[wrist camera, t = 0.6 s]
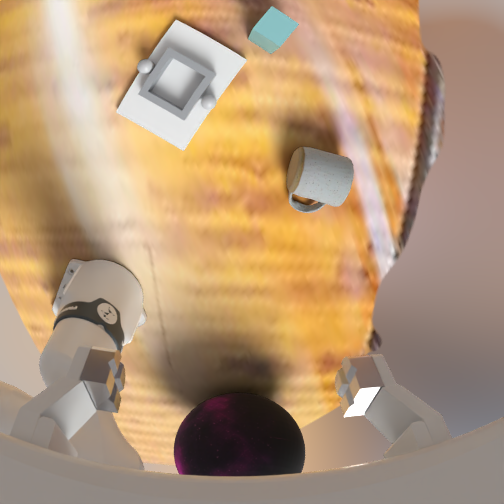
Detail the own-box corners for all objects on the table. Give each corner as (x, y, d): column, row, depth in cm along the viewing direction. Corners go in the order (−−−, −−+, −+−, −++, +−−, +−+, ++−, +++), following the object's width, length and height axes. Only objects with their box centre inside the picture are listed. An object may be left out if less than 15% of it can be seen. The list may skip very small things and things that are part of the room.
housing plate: (185, 150, 44) (182, 155, 41) (117, 110, 40) (109, 113, 37) (247, 61, 39) (249, 59, 36) (176, 20, 35) (172, 15, 31)
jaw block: (270, 54, 38) (280, 46, 31) (247, 39, 37) (252, 28, 30) (286, 34, 37) (299, 24, 30) (264, 19, 36) (271, 6, 29)
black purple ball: (155, 403, 73) (144, 506, 47) (233, 348, 65) (241, 481, 38) (238, 438, 85) (245, 524, 59) (316, 396, 76) (342, 496, 50)
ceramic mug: (293, 140, 45) (304, 150, 38) (342, 152, 46) (361, 165, 40) (276, 203, 50) (283, 224, 43) (323, 213, 51) (337, 234, 45)
